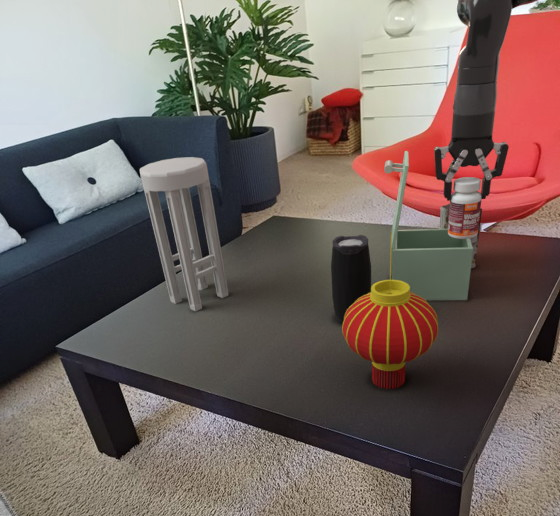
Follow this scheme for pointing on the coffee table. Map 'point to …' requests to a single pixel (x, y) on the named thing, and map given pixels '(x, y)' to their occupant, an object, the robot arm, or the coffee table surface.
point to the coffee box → (474, 241)
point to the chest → (433, 263)
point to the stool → (184, 226)
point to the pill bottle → (465, 208)
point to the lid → (404, 171)
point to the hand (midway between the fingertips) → (465, 198)
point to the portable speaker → (349, 272)
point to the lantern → (390, 327)
